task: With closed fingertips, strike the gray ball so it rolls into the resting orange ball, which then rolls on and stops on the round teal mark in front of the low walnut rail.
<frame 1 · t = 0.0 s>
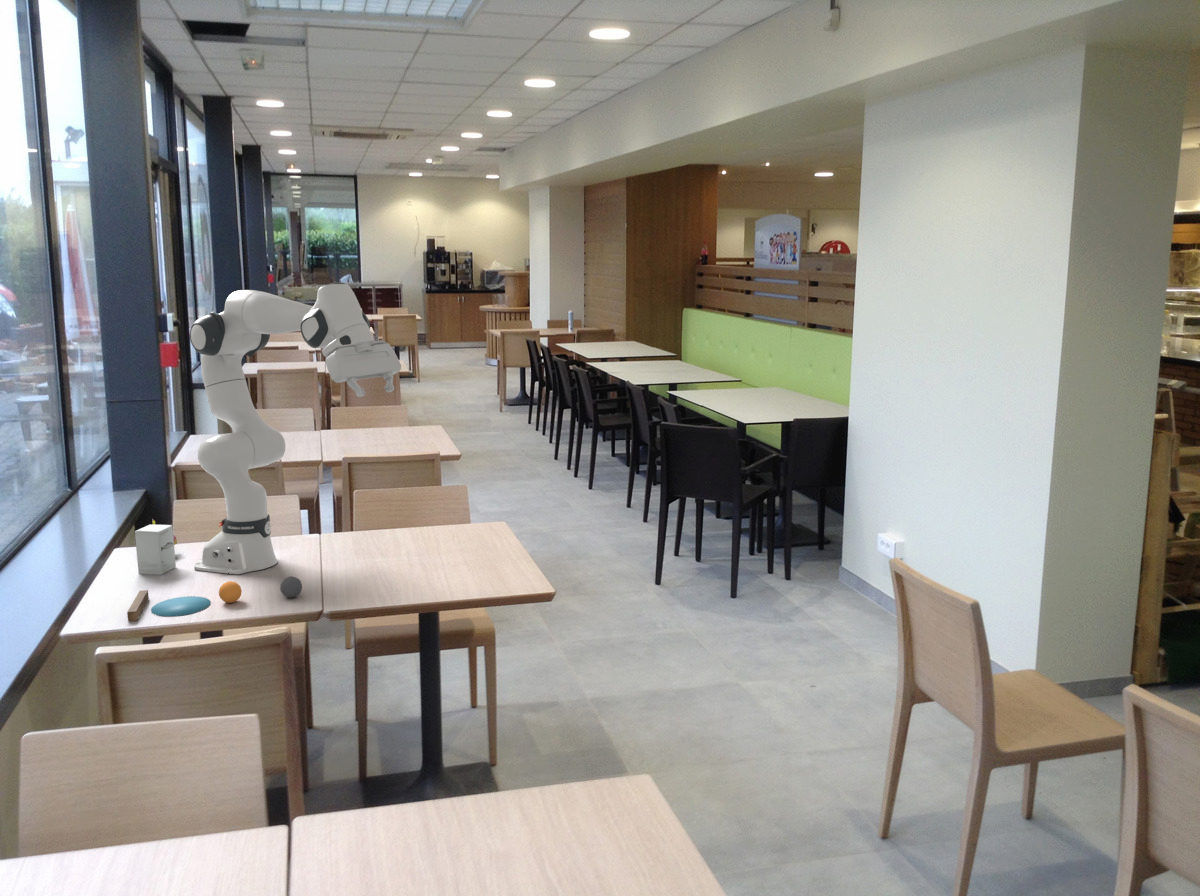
hand: (376, 393, 244), 54 cm above the table, tool tilted 30°, fingers open, 8 cm apart
supplement box: (157, 571, 281), on the table
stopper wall: (138, 610, 250), on the table
orange ball: (230, 592, 255), on the table
cupcake: (162, 556, 295), on the table
gray ball: (291, 587, 259), on the table
teal mark: (181, 606, 253), on the table
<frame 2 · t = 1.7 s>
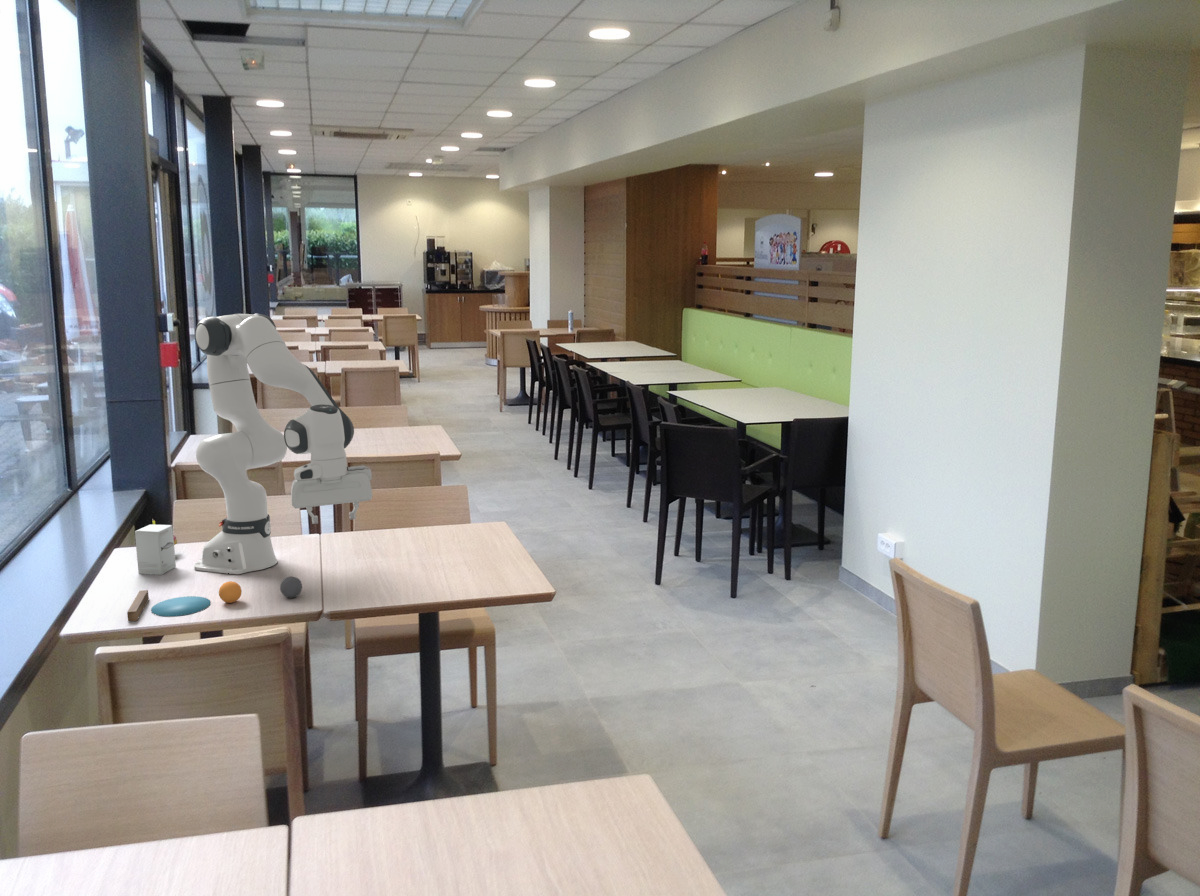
hand: (334, 521, 256), 20 cm above the table, tool pointing down, fingers open, 8 cm apart
nothing on the table moved.
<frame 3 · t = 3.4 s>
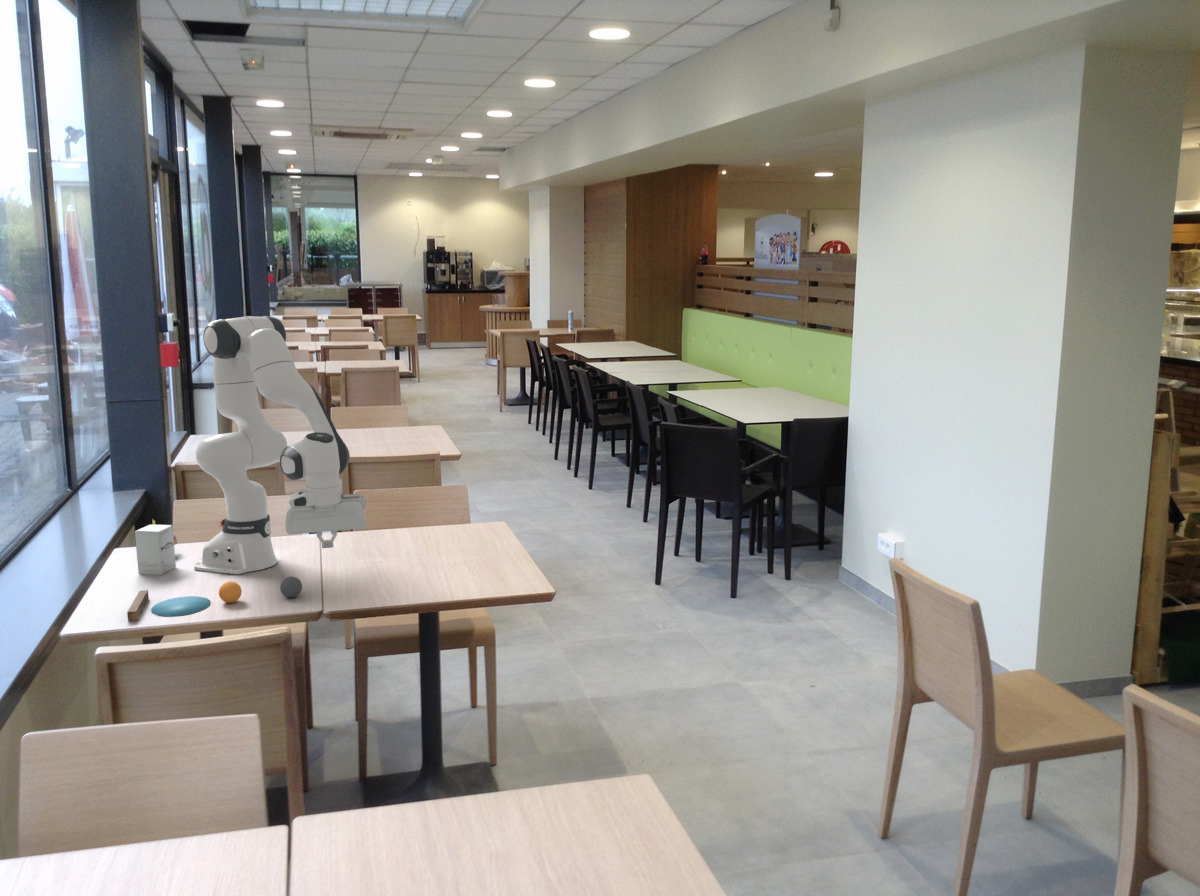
hand: (327, 547, 259), 13 cm above the table, tool pointing down, fingers closed
nothing on the table moved.
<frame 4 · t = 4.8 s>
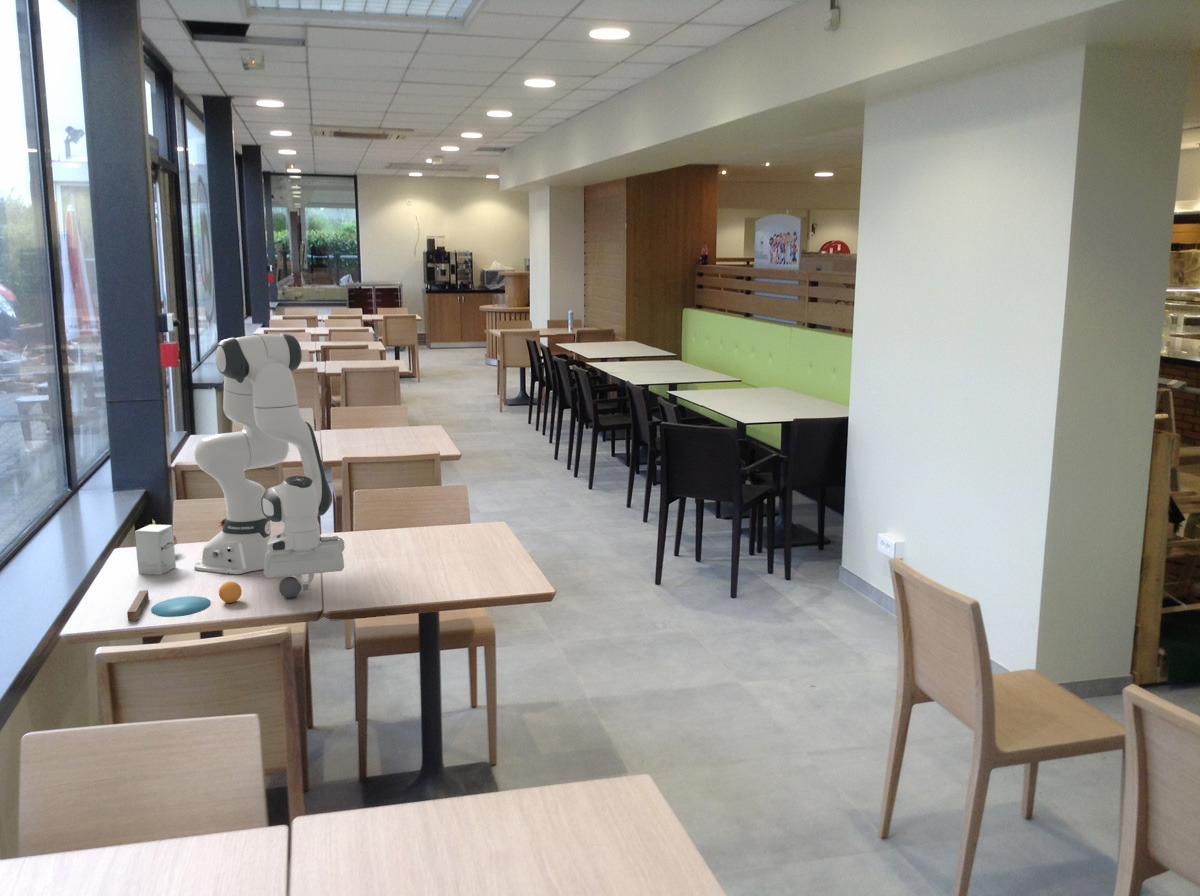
hand: (305, 589, 260), 2 cm above the table, tool pointing down, fingers closed
gray ball: (290, 587, 259), on the table, touching gripper
everything else where it was.
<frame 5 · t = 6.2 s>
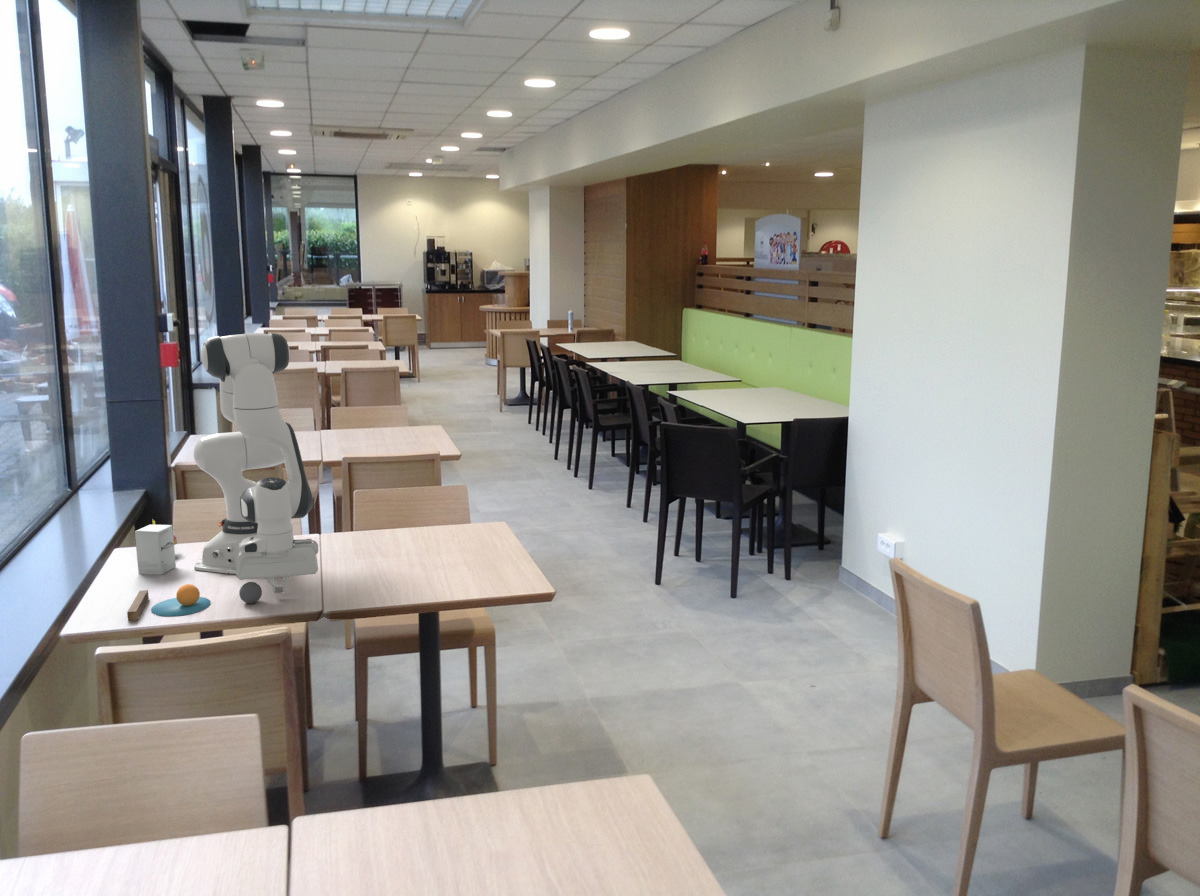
hand: (279, 592, 258), 2 cm above the table, tool pointing down, fingers closed
orange ball: (188, 595, 253), on the table
gray ball: (250, 592, 255), on the table
everything else where it was.
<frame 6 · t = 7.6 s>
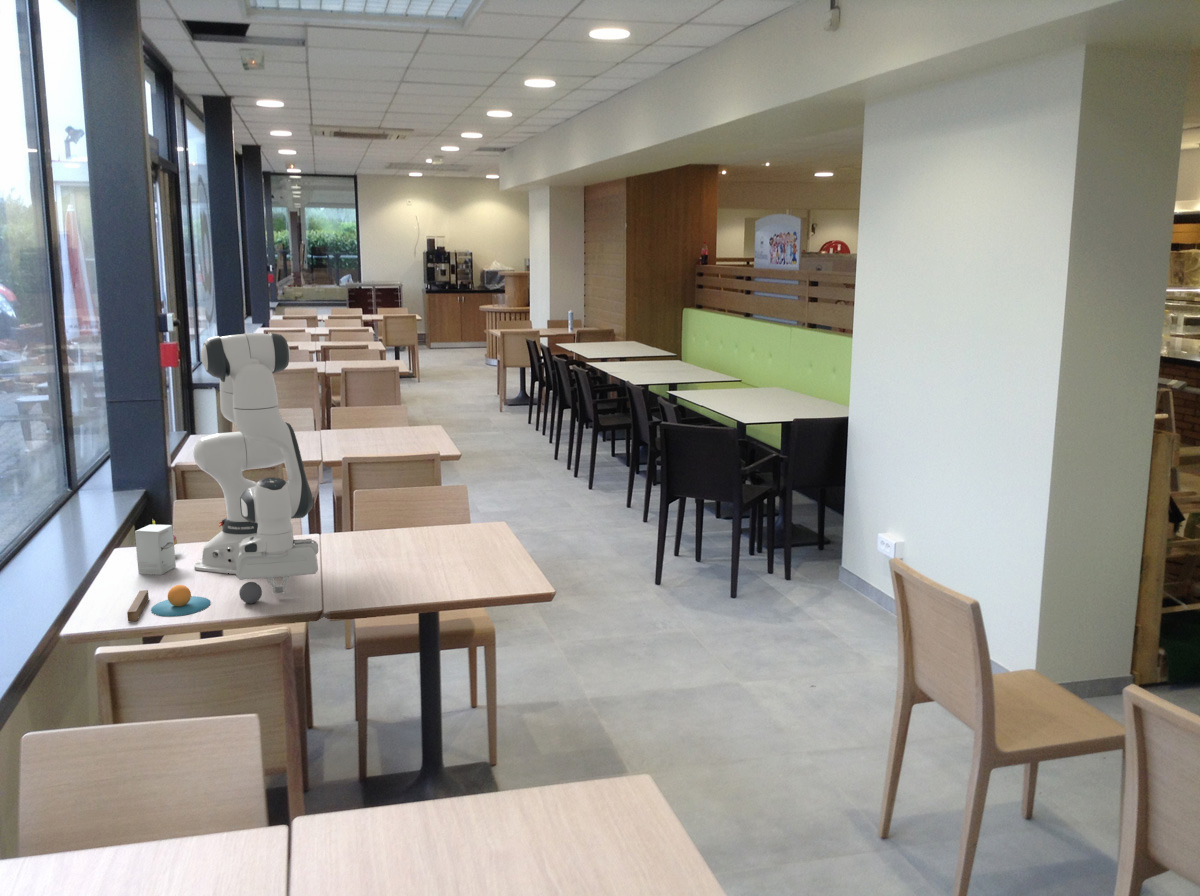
hand: (279, 592, 258), 2 cm above the table, tool pointing down, fingers closed
orange ball: (179, 595, 253), on the table
everything else where it was.
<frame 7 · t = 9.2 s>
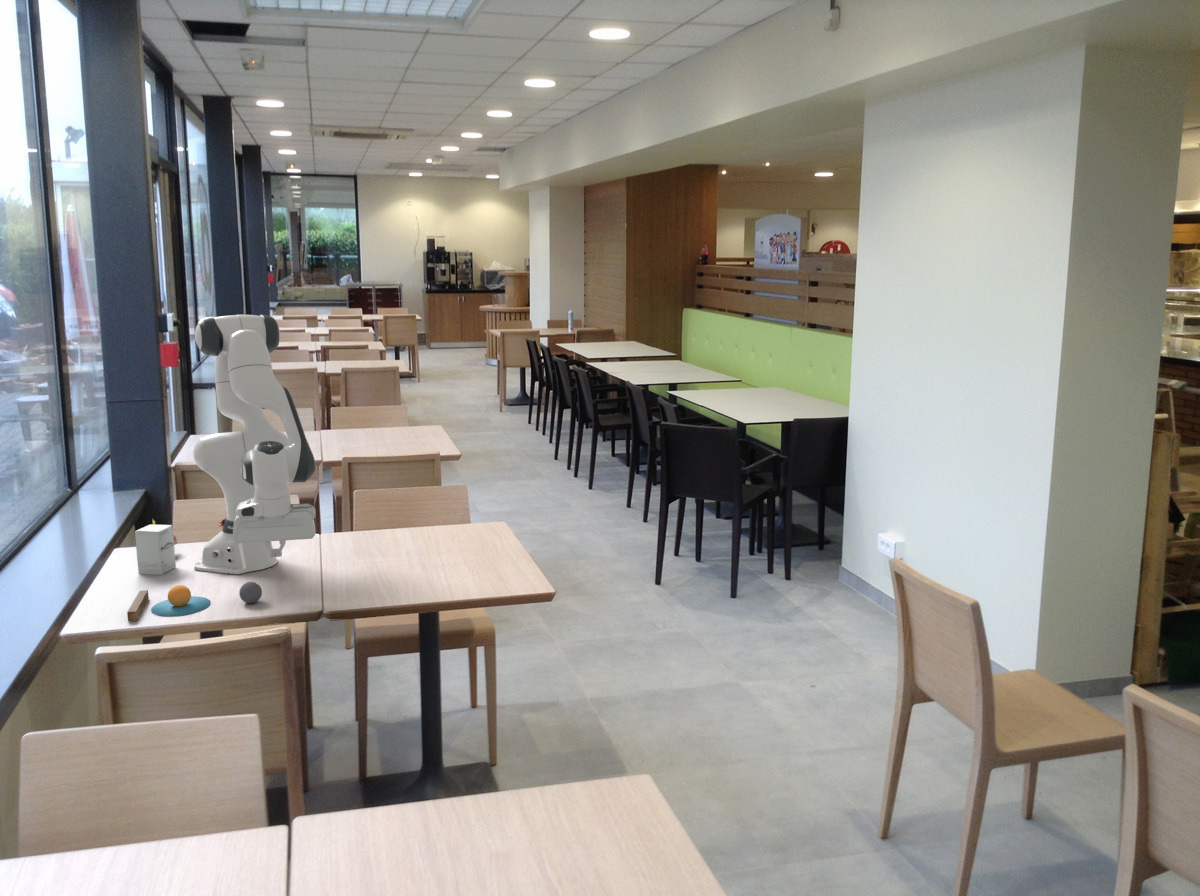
hand: (276, 556, 257), 11 cm above the table, tool pointing down, fingers closed
nothing on the table moved.
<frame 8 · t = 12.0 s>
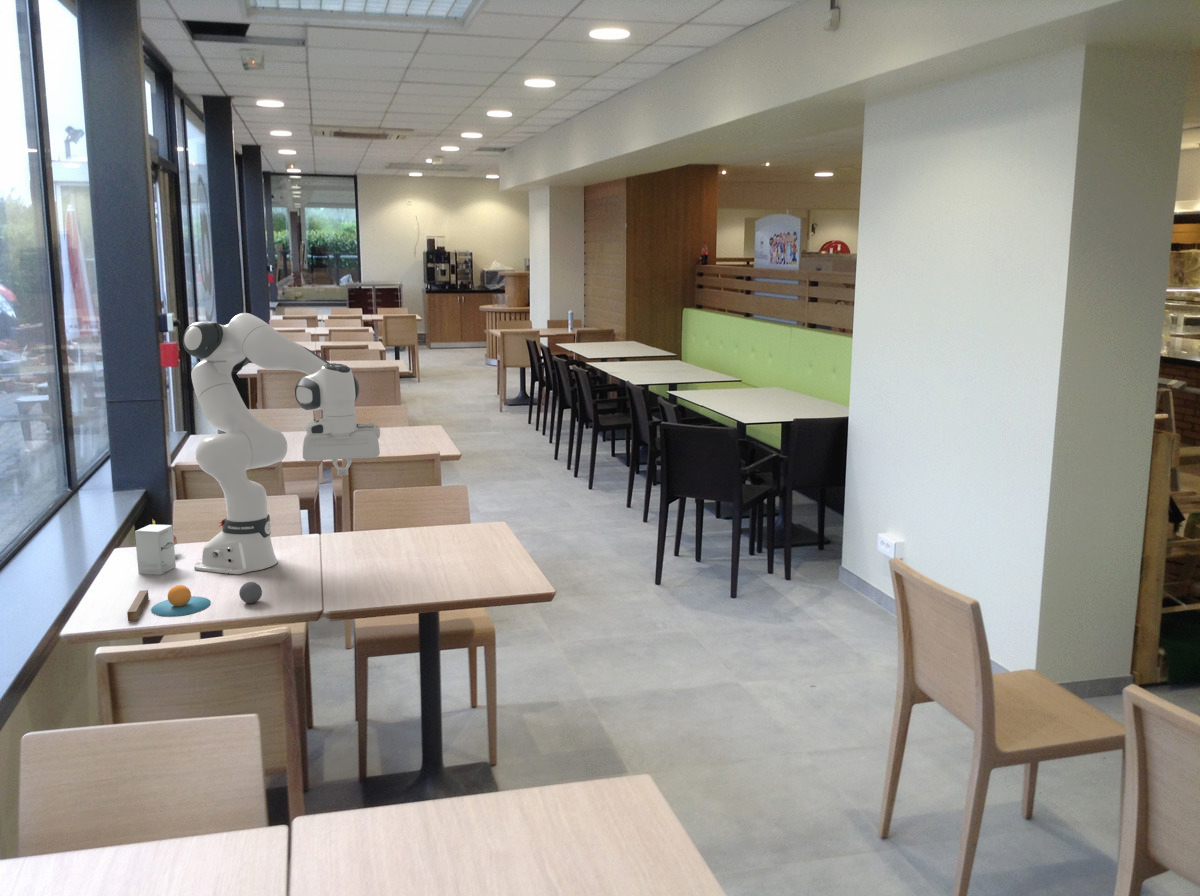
hand: (342, 474, 269), 29 cm above the table, tool pointing down, fingers closed
nothing on the table moved.
at the end: orange ball 0.5 cm from the teal mark (horizontally); orange ball never touched the robot; gray ball first touched orange ball at 5.1 s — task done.
